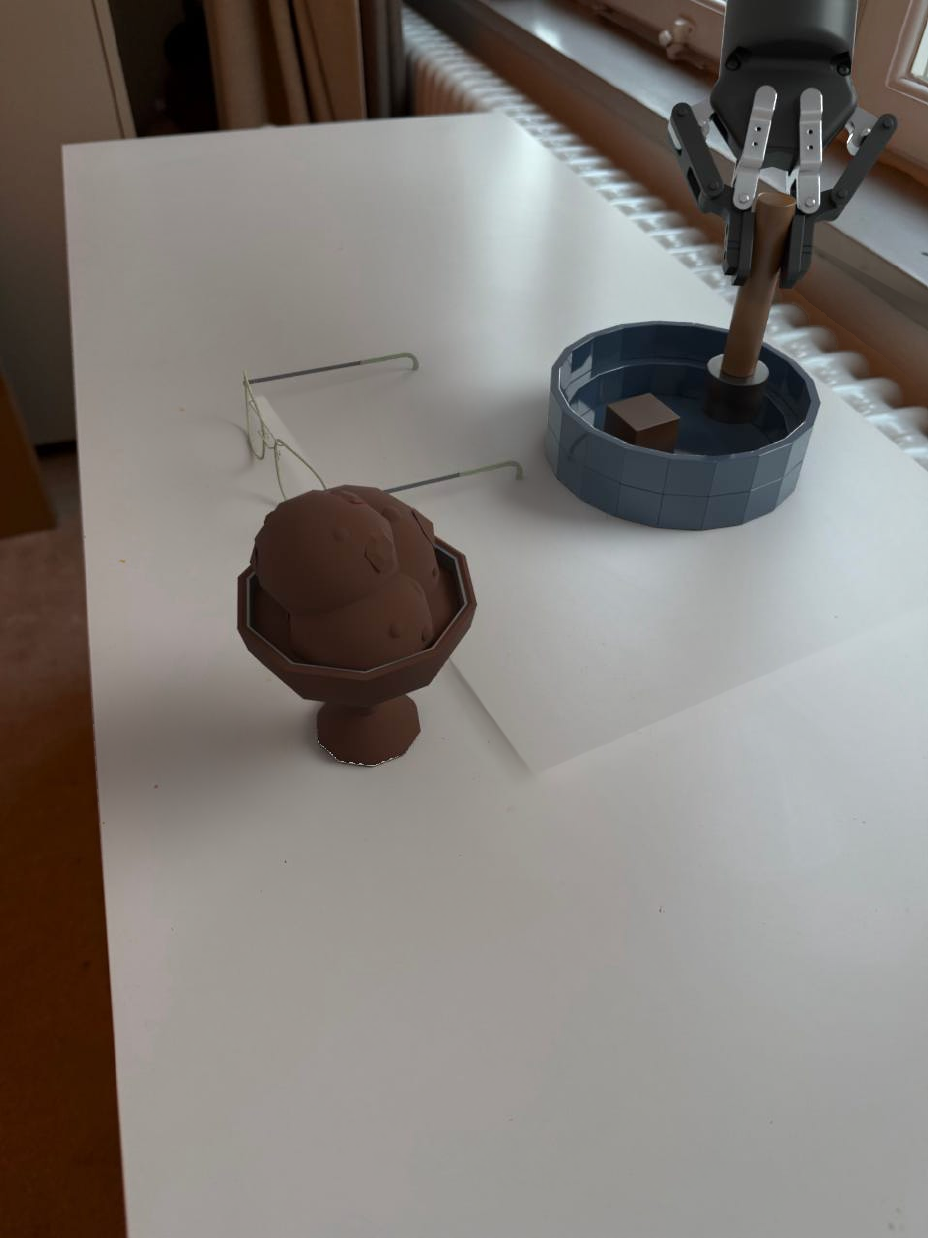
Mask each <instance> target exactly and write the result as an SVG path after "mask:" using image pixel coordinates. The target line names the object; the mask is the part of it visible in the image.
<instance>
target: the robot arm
mask: <svg viewBox="0 0 928 1238" xmlns="http://www.w3.org/2000/svg"><path fill="white" fill-rule="evenodd" d="M858 6H859V0H725V9H724V11H725V12H724V21H723V31H722V42H721V53H720V64H719V74H718V79H717V81H716V82H715V84H714V85H713V87H712V88H711V91H710V95H709V98H706V99H705V100H701V101H700V102H698V103H695V104H693V105H690V104H689V103H687V102H684V101H680V102H677V103H676V104H674V105H673V107H672V109H671V112H670V116H669V121H668V124H667V129H666V135H665V136H666V138H667V141H668V142H669V145H670V147H671V150H672V152H673V155H674V156H675V159H676V162H677V164H678V166H679V169H680V170H681V173H682V176H683V177H684V180H685V182H686V185H687V187H688V189H689V191H690V194H691V197H692V199H693V201H694V204H695V206H696V207H697V208H696V209H697V210H698V211H699V212H700V213H702V214H704V215H706V214H707V215H708V214H714V215H715V216H718V217H720V219H722V220H723V223H724V227H725V229H724V240H723V251H722V261H721V268H722V272H723V275H724V276H731V279H730V281H731V282H730V283H731V286H732V287H738V286H744V285H745V283H746V281H747V279H748V277H749V274H750V268H751V257H752V247H753V236H754V225H755V215H756V212H754V211H753V210H752V209H753V204H754V202H755V197H756V192H757V188H758V183H759V177H760V173H761V170H765V169H770V168H774V169H777V170H779V171H784V172H785V191H786V194H788V195H791V196H793V197H794V198H795V199H796V205H795V209H794V213H793V217H792V221H791V225H790V230H789V234H788V238H787V242H786V246H785V250H784V254H783V258H782V263H781V267H780V271H779V277H778V289H779V290H793V289H794V287H795V285H796V284H797V283H798V281H802V280H803V279H804V277H805V275H806V274H807V272H808V271H809V269H810V267H811V265H812V264H813V263H812V261H813V251H814V239H815V230H816V229H815V228H816V224H817V223H820V222H823V221H824V222H829V223H830V222H831V223H832V222H834V221H836V220H837V219H838V218H839V217H840V215H841V214H842V213H843V211H844V210H845V208H846V207H847V205H848V204H849V203H850V202H851V200H852V199H853V197H854V196H855V194H856V192H857V191H858V189H859V188H860V187H861V185H862V183H863V182H864V180H865V178H866V177H867V176H868V174H869V172H870V171H871V170H872V168H873V166H874V165H875V163H876V162H877V160H878V159H879V157H880V156H881V154H883V153H882V152H883V151H884V150H885V148H886V147H887V145H888V144H889V142H890V141H891V139H892V137H893V136H894V134H895V133H896V131H897V130H898V128H899V120H898V118H897V117H896V116H895V115H894V114H892V113H884V114H882V115H880V116H879V117H878V116H875V115H874V114H872V113H871V112H869V111H867V110H866V109H863V108H862V107H861V106H859V105H858V104H859V97H858V93H857V91H856V88H855V87H854V84H853V79H852V70H853V62H854V61H853V59H854V51H855V39H856V38H855V37H856V27H857V16H858ZM711 121H712V123H713V124H714V127H715V128H716V130H717V131H718V133H719V135H720V136H721V137H722V139H723V141H724V142H725V145H726V146H727V147H728V148H729V150H730V152H731V154H732V155H733V157H734V158H735V163H734V167H733V172H732V177H731V182H730V185H728V184H726V183H724V180H723V178H722V175H721V173H720V172H719V169H718V167H717V164H716V161H715V159H714V157H713V154H712V153H711V150H710V148H709V145H708V143H707V139H708V136H709V134H710V129H711V128H710V124H709V123H710V122H711ZM843 129H846V130H847V132H848V134H849V135H848V136H849V137H848V140H847V142H846V149H847V150H848V153H849V154H850V155H851V156H852V159H851V160H850V162H849V163H848V164H847V166H846V168H845V169H844V171H843V173H842V174H841V176H840V177H839V179H838V180H837V181H836V183H835V184H834V186H833V188H830V189H826V190H823V191H822V190H821V179H820V178H821V170H822V166H823V165H822V164H823V152H824V151H825V150H826V149H827V148H828V147H829V146H830V144H832V142H833V141H834V140H835V139H836V138H837V136H838V135H839V134H840V133H841V132H842V131H843Z"/></svg>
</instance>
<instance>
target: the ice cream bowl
mask: <svg viewBox="0 0 928 1238" xmlns="http://www.w3.org/2000/svg"><path fill="white" fill-rule="evenodd" d="M382 490H383V489H380V488H378V487H375V486H374V487H373V486H364V485H355V484H346V483H345V484H342V485H339V486H334V487H330V488H327V489H326V490H324V489H311V490H308V491H306V492H304V493H301V494H299V495H296V496H294V497H291V498H289V499H288V500H286V501H285V500H283V501H282V502H279V503H278V504H277V506H276V507H275V509H274V510H271V511H269V512H268V513H267V514H265V517H264V519H263V525H262V526H261V528H260V529H259V531H258V532H257V534H256V535H255V537H254V540H253V541H254V545H253V548H252V552H251V556H250V559H249V565H248V566H247V567H246V568H245V569H244V570H243V571H242V572H241V573H240V574H239V575H238V576H237V581H236V582H237V589H236V591H237V593H236V602H237V603H236V609H237V610H236V630H237V632H238V634H239V637H240V638H241V639H242V641H243V643H244V645H245V648H246V649H247V651H248V652H249V653H250V654H251V655H252V656H253V657H254V658H256V660H258V661H259V662H260V664H262V665H263V666H264V667H265V668H266V669H267V670H268V671H270V672H271V673H272V674H273V675H274V676H276V677H277V678H278V679H279V680H280V681H282V682H283V683H284V684H285V685H286V686H287V687H288V688H289V689H291V690H292V691H293V692H294V693H295V694H296V695H298V696H299V697H300V698H301V699H302V700H306V701H311V702H312V701H313V702H319V703H320V702H321V703H323V705H322V706H321V707H320V708H319V709H318V711H317V714H316V717H317V718H316V717H315V720H316V719H317V724H316V734H317V733H318V739H317V742H318V741H319V744H321V745H322V746H324V748H326V750H328V751H329V752H331V754H333V756H334V757H336V759H338V760H339V761H344V762H346V763H349V762H353V763H355V764H359V763H362V764H364V765H376V764H379V763H381V762H382V761H387V760H389V759H390V758H395V757H397V756H400V757H402V755H403V754H405V755H406V753H407V752H408V750H409V749H410V748H409V746H410V747H412V745H411V744H413V743H414V742H415V741H416V739H417V738H418V736H419V735H420V733H421V731H422V729H421V725H420V724H421V723H420V718H419V712H418V706H417V704H416V703H415V701H414V699H413V698H411V697H410V696H408V694H410V693H412V692H415V691H417V690H421V689H423V688H426V687H428V686H430V685H431V683H432V682H433V681H434V679H435V678H436V676H437V675H438V673H439V672H440V671H441V670H442V668H443V667H444V665H445V664H446V663H447V662H448V660H449V659H450V657H451V655H452V654H453V653H454V651H455V650H456V649H457V647H458V646H459V644H460V643H461V641H462V640H463V639H464V638H465V636H466V635H467V633H468V631H469V630H470V628H471V627H472V624H473V620H474V617H475V613H476V611H477V607H478V602H477V599H476V598H477V597H476V594H475V590H474V585H473V582H472V578H471V573H470V569H469V565H468V561H467V557H466V556H467V555H466V554H464V553H463V552H462V551H460V550H458V549H456V548H455V547H454V546H452V545H450V544H449V543H447V542H446V541H445V540H443V539H442V538H440V537H439V536H436V535H435V529H434V522H433V521H431V520H430V519H429V518H428V517H426V516H425V515H424V514H423V513H421V512H420V511H419V510H418V509H416V508H415V507H414V506H413V507H411V506H410V505H409V504H407V503H405V502H403V500H401V499H398V498H397V497H395V496H393V495H392V494H391V493H389V494H388V493H387V492H385V491H382ZM317 730H318V731H317ZM416 737H417V738H416ZM413 741H414V742H413ZM319 744H318V745H319ZM324 748H323V749H324ZM408 748H409V749H408ZM326 750H325V751H326ZM406 751H407V752H406ZM333 756H332V757H333ZM403 756H404V755H403ZM334 757H333V758H334ZM336 759H335V760H336ZM395 759H396V758H395ZM387 762H388V761H387ZM346 763H345V764H346Z"/></svg>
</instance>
